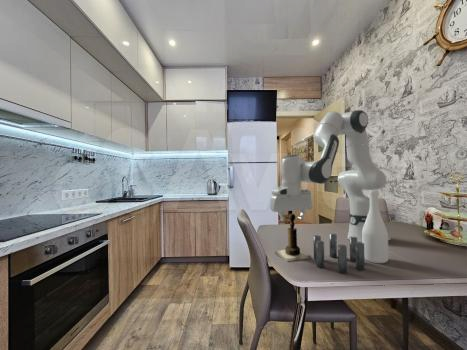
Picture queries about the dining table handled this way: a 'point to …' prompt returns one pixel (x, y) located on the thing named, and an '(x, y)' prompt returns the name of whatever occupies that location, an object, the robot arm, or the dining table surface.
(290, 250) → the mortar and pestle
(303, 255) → the birch board
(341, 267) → the capsules
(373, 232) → the wine bottle
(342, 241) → the dining table surface
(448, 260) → the dining table surface
